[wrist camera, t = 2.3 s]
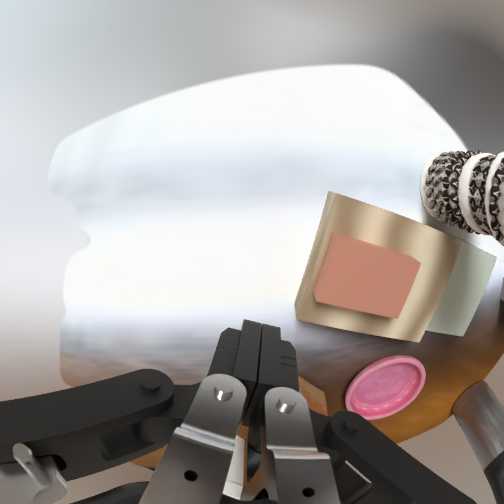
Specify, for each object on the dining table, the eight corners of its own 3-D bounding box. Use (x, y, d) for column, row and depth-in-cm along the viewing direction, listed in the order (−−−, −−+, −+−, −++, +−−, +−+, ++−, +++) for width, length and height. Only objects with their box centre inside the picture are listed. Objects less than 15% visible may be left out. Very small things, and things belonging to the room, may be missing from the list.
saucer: (374, 415, 36) (378, 428, 33) (324, 390, 35) (327, 405, 32) (431, 366, 33) (439, 378, 30) (389, 331, 32) (397, 344, 28)
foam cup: (222, 457, 41) (212, 511, 29) (191, 434, 40) (173, 491, 27) (264, 448, 39) (260, 507, 27) (234, 422, 38) (222, 488, 25)
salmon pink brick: (410, 255, 24) (421, 263, 22) (389, 308, 26) (397, 318, 24) (331, 231, 24) (337, 237, 22) (312, 290, 26) (316, 301, 24)
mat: (495, 256, 27) (497, 257, 27) (461, 335, 31) (462, 336, 31) (444, 232, 27) (445, 233, 27) (407, 326, 31) (407, 327, 31)
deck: (444, 232, 27) (462, 240, 23) (407, 326, 31) (419, 342, 27) (328, 191, 27) (337, 193, 24) (294, 302, 31) (297, 319, 27)
